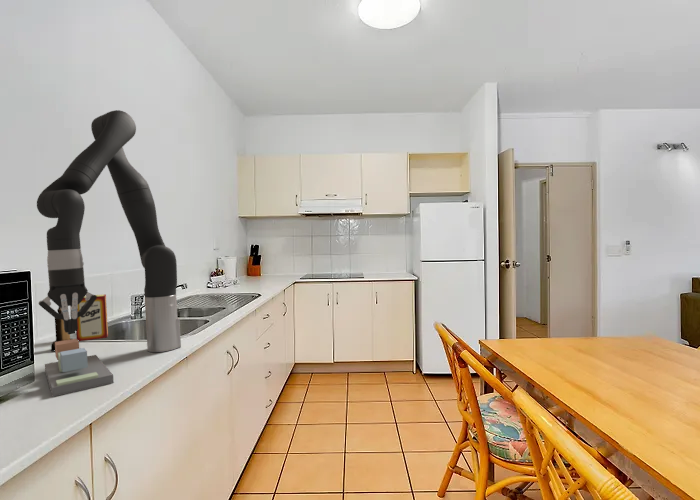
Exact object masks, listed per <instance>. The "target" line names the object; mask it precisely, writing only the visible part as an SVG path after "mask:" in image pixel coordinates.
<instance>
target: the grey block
mask: <svg viewBox="0 0 700 500" xmlns="http://www.w3.org/2000/svg"><path fill="white" fill-rule="evenodd" d="M87 356H88V350H86V348H85V347H81V348H80V347H79V349H74V350H68V351H62V352H60V360H61V369H62V371H63V372H67V371H72V370H77V369H82V368H87V367H88V362H87Z"/></svg>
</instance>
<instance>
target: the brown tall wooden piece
mask: <svg viewBox="0 0 700 500" xmlns="http://www.w3.org/2000/svg"><path fill="white" fill-rule="evenodd" d="M56 312H57V313H58V314H62V311H61V307H59V306H58V308H57V311H56ZM54 330H55V340H54V341H53V342H52V343H51V344H50V347H51V348H50V349H51V351H52V350H55V342H58V341H64V340H71V339H72V338H71V334H68V332H67V333H66V332H65V331H64V322H63V320H62V319H56V318H55V317H54Z"/></svg>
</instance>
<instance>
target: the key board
mask: <svg viewBox="0 0 700 500" xmlns="http://www.w3.org/2000/svg"><path fill="white" fill-rule="evenodd" d="M87 362H88V367H87V368H82V369H77V370H72V371H67V372H60V370H59V367H58V361H55V362H49V363H44V373H45V376H46V379H47V382H48V386H49V389H50V393H51V396H52V398H53V397H58V396H61V395H65V394H71V393H75V392H76V393H77V392H79V391H84V390H88V389H93V388H97V387H101V386H106V385H109V384H110V385H111V384H114V374H113V373H112V371H111V370H110V369H109V368H108V367H107V366H106V365H105V364H104V362H103V361H102V360H101V359H100V357H98V355H97V354H93V355H87Z"/></svg>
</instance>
